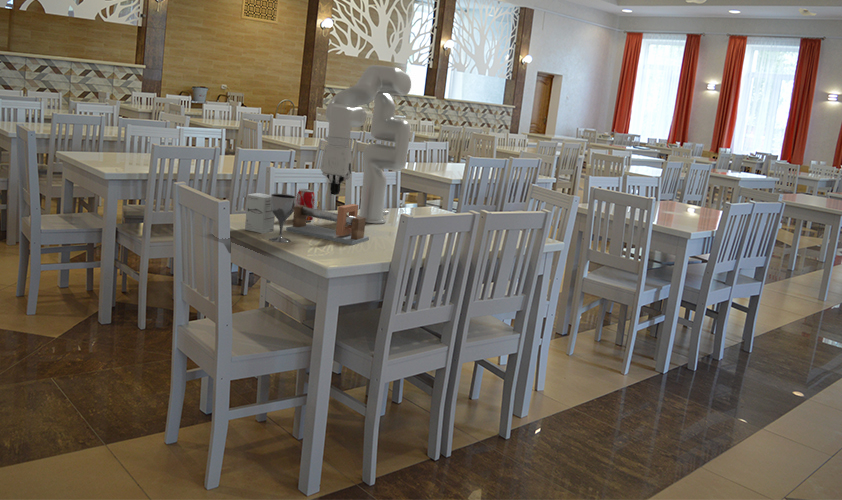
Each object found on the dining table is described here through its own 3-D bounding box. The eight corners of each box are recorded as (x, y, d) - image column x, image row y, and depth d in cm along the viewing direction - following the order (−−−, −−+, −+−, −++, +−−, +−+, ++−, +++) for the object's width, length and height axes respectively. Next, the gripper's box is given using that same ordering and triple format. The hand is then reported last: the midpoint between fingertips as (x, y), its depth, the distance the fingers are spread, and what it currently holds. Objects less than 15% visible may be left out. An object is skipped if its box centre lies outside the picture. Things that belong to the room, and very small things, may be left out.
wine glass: (270, 242, 218) (273, 197, 215) (265, 237, 225) (269, 193, 222) (294, 243, 222) (298, 198, 218) (289, 237, 229) (292, 194, 225)
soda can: (309, 223, 257) (311, 192, 255) (291, 220, 258) (294, 189, 256) (315, 220, 264) (318, 190, 261) (298, 217, 265) (301, 187, 263)
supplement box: (244, 230, 232) (246, 194, 229) (256, 227, 239) (258, 192, 236) (262, 234, 229) (264, 197, 227) (274, 231, 236) (276, 195, 233)
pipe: (297, 215, 241) (298, 206, 240) (302, 214, 244) (303, 205, 244) (356, 227, 233) (356, 217, 232) (360, 226, 236) (361, 216, 235)
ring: (335, 234, 232) (338, 206, 230) (349, 231, 241) (352, 203, 239) (341, 236, 232) (344, 207, 229) (355, 232, 241) (358, 205, 238)
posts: (292, 229, 242) (294, 206, 240) (300, 227, 247) (301, 205, 245) (356, 243, 233) (358, 219, 231) (363, 241, 237) (365, 217, 235)
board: (286, 230, 239) (286, 227, 239) (304, 226, 250) (304, 223, 250) (352, 244, 229) (352, 241, 229) (368, 240, 240) (369, 236, 240)
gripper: (314, 139, 232) (311, 191, 236) (352, 145, 226) (348, 199, 231) (325, 138, 238) (322, 189, 243) (362, 144, 233) (358, 196, 238)
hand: (334, 194), depth 237 cm, fingers closed
